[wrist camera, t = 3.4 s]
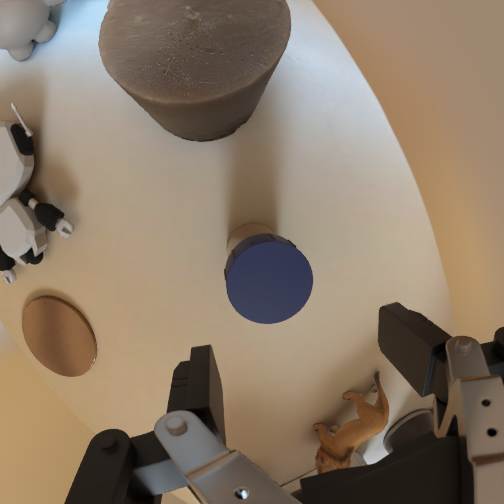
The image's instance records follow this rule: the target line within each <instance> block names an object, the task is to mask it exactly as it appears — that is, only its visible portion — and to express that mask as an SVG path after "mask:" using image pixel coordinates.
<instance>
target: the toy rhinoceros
mask: <svg viewBox="0 0 504 504" xmlns="http://www.w3.org/2000/svg"><path fill="white" fill-rule="evenodd" d="M64 1H66V0H0V49H7V50H8V52H9V54H10V55H11V56H12V58H14V59H15V60H17V61H23V60H25V59H27V58H28V57H29V56H30V55H31V53H32V51H33V48H34V44H33V42H32V41H31V40H32V39H34V40H35V41H36V42H38V43H45V42H47V41H49V40H50V39H51V38H52V37H53V36H54V34H55V32H56V26H55V24H54V23H53V22H51V21H49V20H48V18H49V16H50V13H51V11H50V7H51V6H53V5H58V4H61V3H63V2H64Z"/></svg>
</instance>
